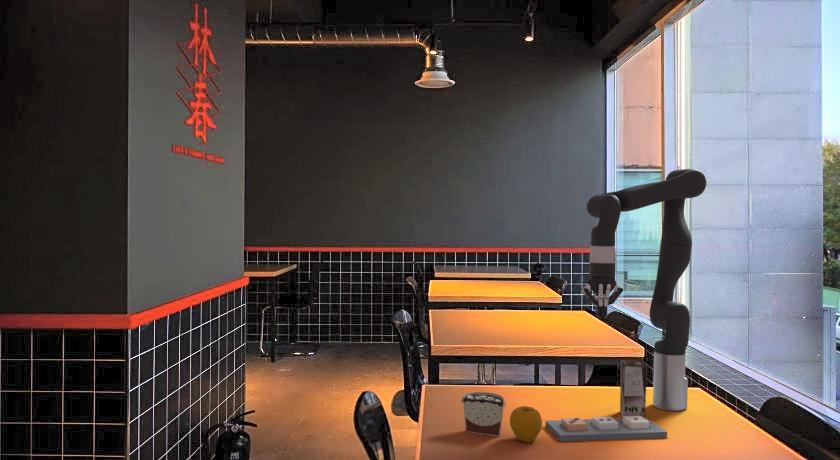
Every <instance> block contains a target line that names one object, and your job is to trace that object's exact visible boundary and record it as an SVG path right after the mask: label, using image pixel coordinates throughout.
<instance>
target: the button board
mask: <svg viewBox="0 0 840 460" xmlns="http://www.w3.org/2000/svg"><path fill="white" fill-rule="evenodd" d="M581 419H582V420H583V421H584V422H585V423H586V424H587V431H567V430H566V429H565V428H564V427H562V426H561V423H562V419H557V420H552V419H551V420H550V419H549V420H545V427H546V428H547V429H548V430H549V431H550V433H551V434H553V436H555V437H556V438H557V440H559V441H560V442H581V441H582V442H583V441H584V442H585V441H607V440H609V441H611V440H612V441H613V440H638V439H639V440H641V439H644V440H645V439H665V438H666V439H667V438H668V431H666V429H664V428H662V427H661V426H659V425H658V424H656V423H655V422H653V421H652V420H650V419H648V418H647V417H645V418H644V419H646V420H647V421H649V429H630V428H628V427H627V426H626V425H624V424H623V417H622V418H621V417H618V418H616V417H615V418H613V419H614V420H615V421H616V422H618V430H598V429H597V428H596V427H595V426H594V425H592V418H590V419H589V418H587V419H586V418H584V419H583V418H581Z"/></svg>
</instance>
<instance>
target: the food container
mask: <svg viewBox="0 0 840 460" xmlns="http://www.w3.org/2000/svg"><path fill="white" fill-rule="evenodd" d="M460 403H461V404H462V405H463V412H464V413H463V414H464V415H463V416H464V425H465V432H466V431H469V432H473V433H472V434H476V433H480V434H479V435H483V434H486V435H485V436H492V437H498V438H499V437H501V431H502V421H503V413H504V409H505V408H507V404H506V400H505V398H504V397H503V396H502V395H500V394H499V393H498V394H497V393H495V392H486V391H482V392H481V391H474V392H469V393H468V392H467V393H465V394H463V395H462V397H461V401H460Z"/></svg>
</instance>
